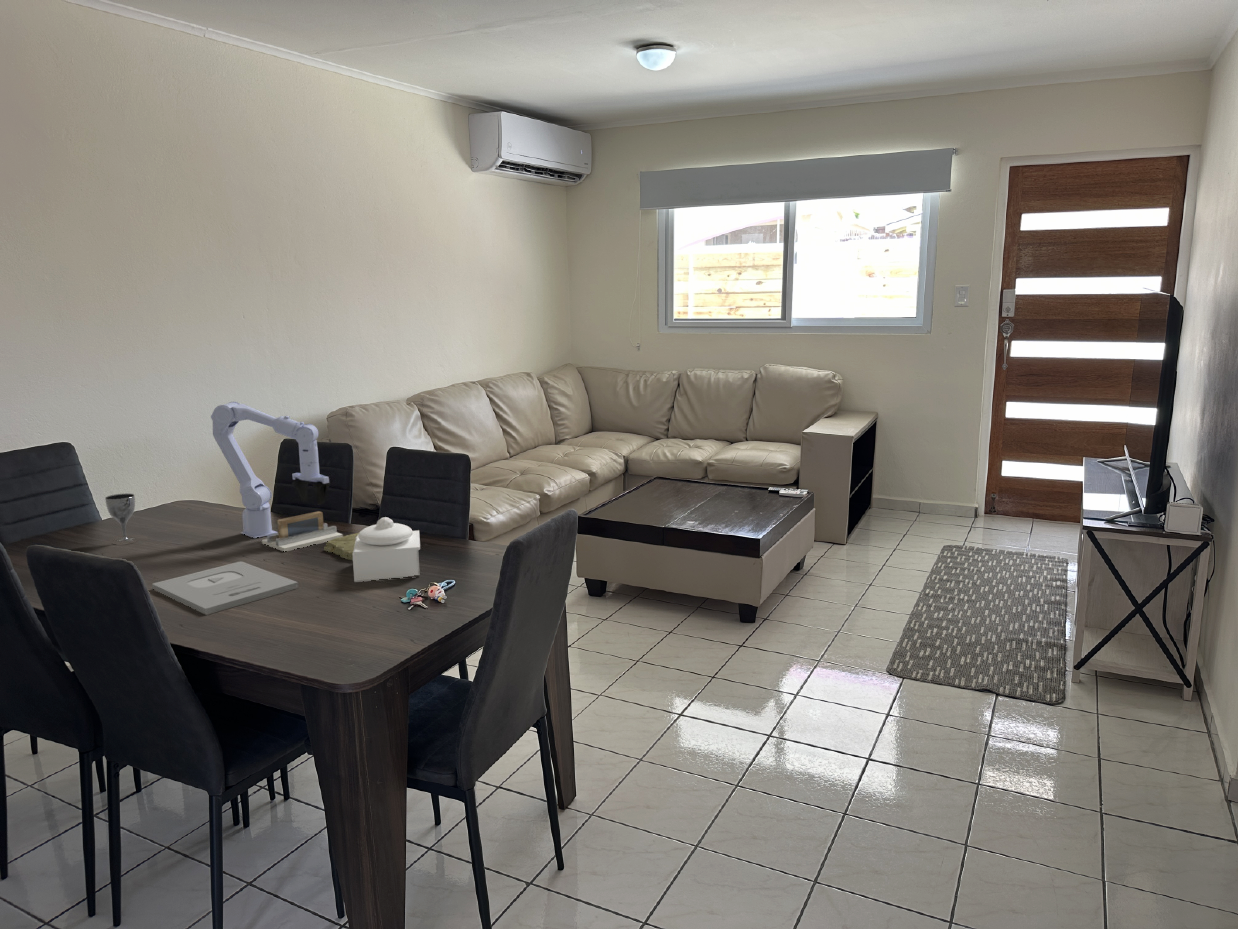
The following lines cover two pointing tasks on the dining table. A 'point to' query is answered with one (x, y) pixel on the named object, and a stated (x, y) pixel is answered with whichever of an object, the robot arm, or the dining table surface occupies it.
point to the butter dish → (386, 552)
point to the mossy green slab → (342, 546)
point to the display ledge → (302, 538)
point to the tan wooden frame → (300, 524)
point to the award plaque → (224, 587)
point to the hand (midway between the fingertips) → (312, 502)
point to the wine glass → (121, 509)
